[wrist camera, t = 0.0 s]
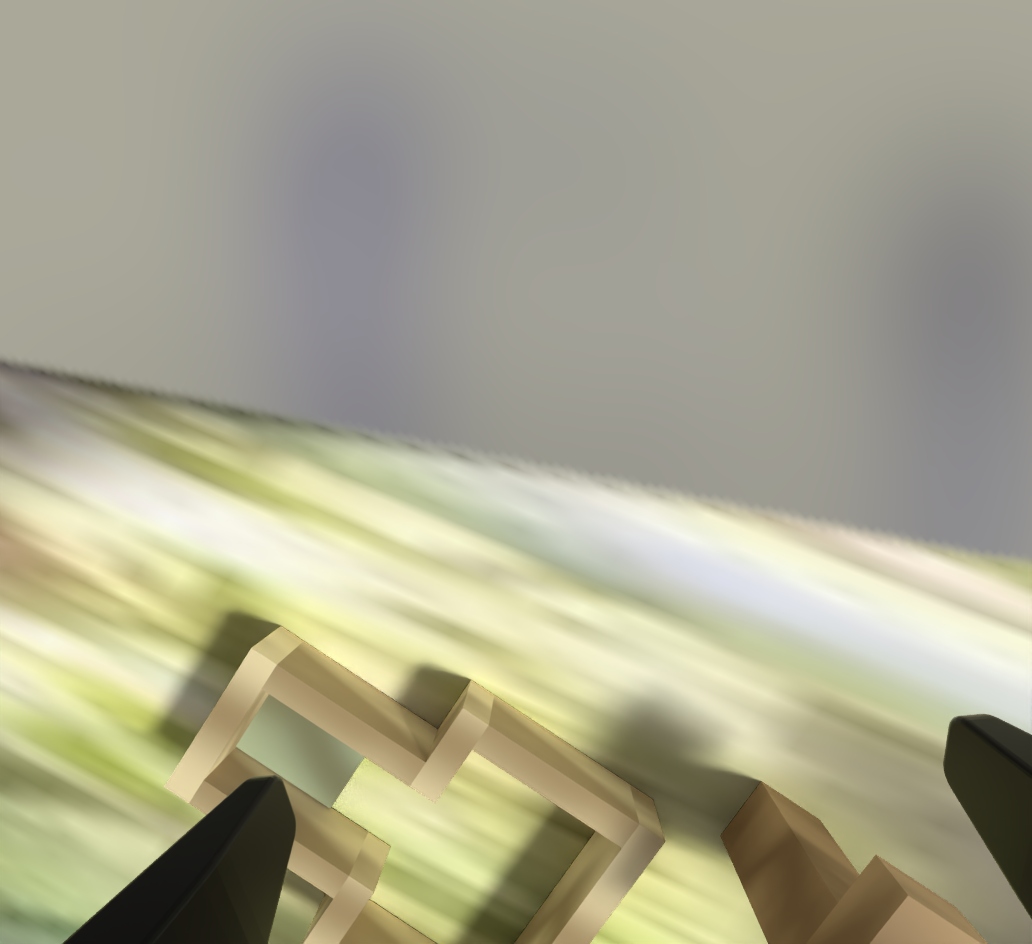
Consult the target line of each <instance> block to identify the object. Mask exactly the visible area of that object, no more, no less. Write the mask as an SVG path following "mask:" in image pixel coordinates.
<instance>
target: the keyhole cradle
mask: <svg viewBox="0 0 1032 944" xmlns="http://www.w3.org/2000/svg"><path fill="white" fill-rule="evenodd" d="M471 750H474V751H475V752H477V753H478V754H480V755H481V756H483V757H484V758H486V759H487V760H489V761H490V762H492V763H493V764H495V765H496V766H498V767H499V768H501V769H502V770H504V771H505V772H507V773H509V774H510V775H512V776H513V777H515V778H516V779H518V780H519V781H521V782H522V783H524V784H525V785H527V786H528V787H530V788H531V789H533V790H534V791H536V792H537V793H539V794H540V795H542V796H543V797H545V798H547V799H548V800H550V801H551V802H553V803H554V804H556V805H557V806H559V807H560V808H562V809H563V810H565V811H566V812H568V813H569V814H571V815H572V816H574V817H575V818H577V819H578V820H580V821H581V822H583V823H585V824H586V825H588V826H589V827H591V828H592V829H594V830H595V833H594V834H593V835H592V837H591V838H590V840H589V841H588V842H587V844H586V845H585V846H584V848H583V849H582V851H581V852H580V853H579V855H578V856H577V858H576V859H575V860H574V862H573V863H572V864H571V866H570V867H569V869H568V870H567V871H566V873H565V874H564V875H563V877H562V878H561V880H560V881H559V882H558V884H557V885H556V886H555V888H554V889H553V891H552V892H551V893H550V895H549V896H548V898H547V899H546V900H545V902H544V903H543V904H542V906H541V907H540V909H539V910H538V911H537V913H536V914H535V915H534V917H533V918H532V920H531V921H530V922H529V924H528V925H527V927H526V928H525V929H524V931H523V932H522V933H521V935H520V936H519V938H518V939H517V940H516V942H515V943H514V944H590V942H591V941H592V940H593V938H594V937H595V936H596V934H597V933H598V932H599V930H600V929H601V928H602V926H603V925H604V924H605V922H606V921H607V920H608V918H609V917H610V915H611V914H612V913H613V911H614V910H615V909H616V907H617V906H618V905H619V903H620V902H621V901H622V899H623V898H624V897H625V895H626V894H627V893H628V891H629V890H630V888H631V887H632V886H633V884H634V883H635V882H636V880H637V879H638V878H639V876H640V875H641V874H642V872H643V871H644V870H645V868H646V867H647V866H648V864H649V863H650V862H651V860H652V859H653V857H654V856H655V855H656V853H657V852H658V851H659V849H660V848H661V847H662V845H663V844H664V843H665V838H664V835H663V832H662V828H661V825H660V822H659V818H658V815H657V812H656V808H655V805H654V802H653V799H651V798H650V797H648V796H647V795H645V794H644V793H642V792H641V791H639V790H638V789H636V788H635V787H633V786H632V785H630V784H629V783H627V782H626V781H624V780H622V779H621V778H619V777H618V776H616V775H615V774H613V773H612V772H610V771H609V770H607V769H606V768H604V767H603V766H601V765H600V764H598V763H597V762H595V761H594V760H592V759H591V758H589V757H588V756H586V755H584V754H583V753H581V752H580V751H578V750H577V749H575V748H574V747H572V746H571V745H569V744H568V743H566V742H565V741H563V740H562V739H560V738H559V737H557V736H556V735H554V734H553V733H551V732H550V731H548V730H547V729H545V728H543V727H542V726H540V725H539V724H537V723H536V722H534V721H533V720H531V719H530V718H528V717H527V716H525V715H524V714H522V713H521V712H519V711H518V710H516V709H515V708H513V707H512V706H510V705H509V704H507V703H505V702H504V701H502V700H501V699H499V698H498V697H496V696H495V695H493V694H492V693H490V692H489V691H487V690H486V689H484V688H483V687H481V686H480V685H478V684H477V683H475V682H474V681H472V680H471V681H470V682H469V684H468V685H467V687H466V688H465V690H464V691H463V693H462V694H461V696H460V697H459V698H458V700H457V701H456V703H455V704H454V706H453V707H452V709H451V710H450V712H449V713H448V715H447V716H446V718H445V719H444V721H443V722H442V724H441V725H440V727H439V728H438V729H437V728H435V727H434V726H432V725H431V724H429V723H427V722H426V721H424V720H423V719H421V718H420V717H418V716H417V715H415V714H414V713H412V712H411V711H409V710H408V709H406V708H405V707H403V706H402V705H400V704H399V703H397V702H396V701H394V700H393V699H391V698H389V697H388V696H386V695H385V694H383V693H382V692H380V691H379V690H377V689H376V688H374V687H373V686H371V685H370V684H368V683H367V682H365V681H364V680H362V679H361V678H359V677H358V676H356V675H355V674H353V673H352V672H350V671H348V670H347V669H345V668H344V667H342V666H341V665H339V664H338V663H336V662H335V661H333V660H332V659H330V658H329V657H327V656H326V655H324V654H323V653H321V652H320V651H318V650H317V649H315V648H314V647H312V646H310V645H309V644H307V643H306V642H304V641H303V640H301V639H300V638H298V637H297V636H295V635H294V634H292V633H291V632H289V631H288V630H286V629H285V628H283V627H282V626H280V627H279V628H277V629H276V630H275V631H273V632H272V633H271V634H269V635H268V636H267V637H265V638H264V639H263V640H261V641H260V642H259V643H257V644H256V645H255V646H253V647H252V648H251V649H250V651H249V652H248V654H247V656H246V657H245V659H244V660H243V662H242V664H241V665H240V667H239V668H238V670H237V672H236V673H235V675H234V676H233V678H232V679H231V681H230V683H229V684H228V686H227V687H226V689H225V691H224V692H223V694H222V695H221V697H220V699H219V700H218V702H217V703H216V705H215V707H214V708H213V710H212V711H211V713H210V715H209V716H208V718H207V719H206V721H205V723H204V724H203V726H202V727H201V729H200V731H199V732H198V734H197V735H196V737H195V738H194V740H193V742H192V743H191V745H190V746H189V748H188V750H187V751H186V753H185V754H184V756H183V758H182V759H181V761H180V762H179V764H178V766H177V767H176V769H175V770H174V772H173V774H172V775H171V777H170V778H169V780H168V782H167V783H166V785H165V786H164V787H165V788H166V789H168V790H169V791H171V792H172V793H174V794H175V795H177V796H178V797H180V798H181V799H183V800H184V801H186V802H187V803H189V804H191V805H192V806H194V807H195V808H197V809H198V810H200V811H201V812H203V813H204V814H206V815H207V814H208V813H209V812H210V811H211V810H212V809H214V808H215V807H216V806H217V805H218V804H219V803H220V802H221V801H223V800H224V799H225V798H226V797H227V796H228V795H229V794H230V793H232V792H233V791H234V790H235V789H236V788H237V787H238V786H239V785H241V784H242V783H243V782H244V781H245V780H247V779H249V778H251V777H255V776H267V775H278V776H279V777H280V778H281V779H282V780H283V782H284V785H285V788H286V790H287V793H288V796H289V799H290V802H291V805H292V808H293V811H294V814H295V818H296V834H295V839H294V843H293V847H292V851H291V855H290V859H289V862H288V866H287V868H288V869H289V870H291V871H292V872H294V873H295V874H297V875H298V876H300V877H301V878H303V879H304V880H306V881H307V882H309V883H310V884H312V885H314V886H315V887H317V888H318V889H320V890H321V891H323V892H324V893H326V895H325V897H324V898H323V900H322V902H321V904H320V906H319V908H318V911H317V913H316V915H315V917H314V919H313V921H312V923H311V925H310V928H309V930H308V932H307V934H306V936H305V938H304V940H303V942H302V944H436V943H435V942H433V941H431V940H430V939H428V938H427V937H425V936H424V935H422V934H421V933H419V932H418V931H416V930H415V929H413V928H412V927H410V926H409V925H407V924H406V923H404V922H403V921H401V920H400V919H398V918H397V917H395V916H393V915H392V914H390V913H389V912H387V911H386V910H384V909H383V908H381V907H380V906H378V905H377V904H375V903H374V902H372V901H371V900H369V899H370V897H371V896H372V895H373V893H374V891H375V888H376V885H377V883H378V880H379V877H380V875H381V872H382V869H383V866H384V864H385V861H386V858H387V855H388V853H389V850H390V846H389V845H387V844H386V843H384V842H383V841H381V840H380V839H378V838H377V837H375V836H374V835H372V834H371V833H369V832H368V831H366V830H365V829H363V828H362V827H360V826H358V825H357V824H355V823H354V822H352V821H351V820H349V819H348V818H346V817H345V816H343V815H342V814H340V813H339V812H337V811H336V810H334V809H333V808H331V807H332V805H333V804H334V802H335V801H336V799H337V798H338V796H339V795H340V793H341V792H342V790H343V789H344V787H345V786H346V784H347V783H348V781H349V780H350V778H351V777H352V775H353V774H354V772H355V771H356V769H357V768H358V766H359V765H360V763H361V762H362V760H363V759H364V757H365V758H367V759H368V760H370V761H371V762H373V763H375V764H376V765H378V766H379V767H381V768H382V769H384V770H385V771H387V772H388V773H390V774H391V775H393V776H394V777H396V778H397V779H399V780H400V781H402V782H403V783H405V784H406V785H408V786H409V787H411V788H413V789H414V790H416V791H417V792H419V793H420V794H422V795H423V796H425V797H426V798H428V799H429V800H431V801H432V802H434V803H436V801H437V800H438V798H439V797H440V795H441V794H442V793H443V791H444V790H445V788H446V787H447V785H448V784H449V782H450V781H451V779H452V778H453V777H454V775H455V774H456V772H457V771H458V769H459V768H460V766H461V765H462V763H463V762H464V760H465V759H466V758H467V756H468V755H469V753H470V752H471Z"/></svg>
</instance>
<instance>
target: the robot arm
mask: <svg viewBox="0 0 1032 944" xmlns="http://www.w3.org/2000/svg"><path fill="white" fill-rule="evenodd" d="M943 767H944V773H945V776H946V779H947V781H948V783H949V785H950V787H951V789H952V791H953V792H954V794H955V795H956V797H957V799H958V800H959V802H960V804H961V805H962V807H963V809H964V810H965V812H966V813H967V815H968V817H969V818H970V820H971V822H972V823H973V825H974V827H975V828H976V830H977V831H978V833H979V835H980V836H981V838H982V840H983V841H984V843H985V845H986V846H987V848H988V850H989V851H990V853H991V854H992V856H993V858H994V859H995V861H996V863H997V864H998V866H999V868H1000V869H1001V871H1002V872H1003V874H1004V876H1005V877H1006V879H1007V881H1008V882H1009V884H1010V886H1011V887H1012V889H1013V890H1014V892H1015V894H1016V895H1017V897H1018V899H1019V900H1020V902H1021V903H1022V905H1023V906H1024V908H1025V909H1026V911H1027V912H1028V914H1029V916H1030V917H1031V919H1032V735H1031V734H1029V733H1027V732H1025V731H1023V730H1021V729H1019V728H1017V727H1015V726H1013V725H1011V724H1009V723H1007V722H1005V721H1003V720H1001V719H999V718H996V717H994V716H991V715H987V714H977V715H965V716H957V717H954V718H953V719H952V720H951V722H950V724H949V729H948V735H947V742H946V748H945V755H944V761H943ZM295 834H296V818H295V814H294V811H293V808H292V805H291V802H290V799H289V796H288V793H287V790H286V788H285V785H284V782H283V780H282V779H281V778H280V777H279V776H278V775H267V776H255V777H251V778H249V779H247V780H245V781H244V782H243V783H242V784H241V785H239V786H238V787H237V788H236V789H235V790H234V791H233V792H232V793H230V794H229V795H228V796H227V797H226V798H225V799H224V800H223V801H221V802H220V803H219V804H218V805H217V806H216V807H215V808H214V809H212V810H211V811H210V812H209V813H208V814H207V815H206V816H205V817H204V818H202V819H201V820H200V821H199V822H198V823H197V824H196V825H195V826H193V827H192V828H191V829H190V830H189V831H188V832H187V833H186V834H184V835H183V836H182V837H181V838H180V839H179V840H178V841H177V842H175V843H174V844H173V845H172V846H171V847H170V848H169V849H168V850H167V851H165V852H164V853H163V854H162V855H161V856H160V857H159V858H158V859H156V860H155V861H154V862H153V863H152V864H151V865H150V866H149V867H147V868H146V869H145V870H144V871H143V872H142V873H141V874H140V875H138V876H137V877H136V878H135V879H134V880H133V881H132V882H131V883H129V884H128V885H127V886H126V887H125V888H124V889H123V890H122V891H121V892H119V893H118V894H117V895H116V896H115V897H114V898H113V899H112V900H110V901H109V902H108V903H107V904H106V905H105V906H104V907H103V908H101V909H100V910H99V911H98V912H97V913H96V914H95V915H94V916H92V917H91V918H90V919H89V920H88V921H87V922H86V923H85V924H84V925H82V926H81V927H80V928H79V929H78V930H77V931H76V932H75V933H73V934H72V935H71V936H70V937H69V938H68V939H67V940H66V941H64V942H63V943H62V944H268V940H269V937H270V933H271V929H272V925H273V921H274V917H275V913H276V909H277V905H278V901H279V898H280V894H281V890H282V886H283V882H284V878H285V874H286V870H287V866H288V862H289V859H290V855H291V851H292V847H293V843H294V839H295Z"/></svg>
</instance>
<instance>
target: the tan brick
mask: <svg viewBox="0 0 1032 944" xmlns="http://www.w3.org/2000/svg"><path fill="white" fill-rule="evenodd" d="M721 838H722V840H723V842H724V845H725V847H726V849H727V851H728V854H729V856H730V858H731V861H732V863H733V865H734V867H735V870H736V872H737V874H738V876H739V879H740V881H741V883H742V885H743V888H744V890H745V892H746V895H747V897H748V899H749V901H750V904H751V906H752V908H753V910H754V913H755V915H756V917H757V919H758V922H759V924H760V926H761V928H762V931H763V933H764V935H765V938H766V940H767V942H768V944H988V943H987V942H986V941H985V940H984V939H983V938H982V936H981V935H980V934H979V933H978V932H977V931H976V930H975V928H974V927H973V926H972V925H971V924H970V923H969V922H968V920H967V919H966V918H965V917H964V916H963V915H962V913H961V912H960V911H959V910H958V909H957V908H956V907H955V906H953V905H952V904H950V903H949V902H947V901H946V900H944V899H943V898H941V897H940V896H938V895H937V894H935V893H934V892H932V891H931V890H929V889H928V888H926V887H925V886H923V885H922V884H920V883H918V882H917V881H915V880H914V879H912V878H911V877H909V876H908V875H906V874H905V873H903V872H902V871H900V870H899V869H897V868H896V867H894V866H893V865H891V864H890V863H888V862H887V861H885V860H884V859H882V858H880V857H879V856H877V855H875V856H874V858H873V859H872V860H871V862H870V863H869V864H868V865H867V867H866V868H865V869H864V870H863V872H862V873H861V874H860V875H859V874H858V872H857V871H856V870H855V868H854V867H853V865H852V864H851V863H850V861H849V860H848V858H847V857H846V856H845V854H844V853H843V851H842V850H841V849H840V847H839V846H838V844H837V843H836V842H835V840H834V839H833V837H832V836H831V835H830V833H829V832H828V830H827V829H826V828H825V826H824V825H823V823H822V822H821V821H820V820H819V819H818V818H816V817H815V816H813V815H812V814H810V813H809V812H807V811H806V810H804V809H803V808H801V807H800V806H798V805H796V804H795V803H793V802H792V801H790V800H789V799H787V798H786V797H784V796H783V795H781V794H780V793H778V792H777V791H775V790H774V789H772V788H771V787H769V786H768V785H766V784H765V783H763V782H762V781H761V782H760V784H759V785H758V786H757V788H756V789H755V790H754V792H753V793H752V794H751V796H750V797H749V798H748V800H747V801H746V802H745V804H744V805H743V806H742V808H741V809H740V810H739V812H738V813H737V814H736V816H735V817H734V818H733V820H732V821H731V822H730V824H729V825H728V826H727V828H726V829H725V830H724V832H723V833H722V834H721Z"/></svg>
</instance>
